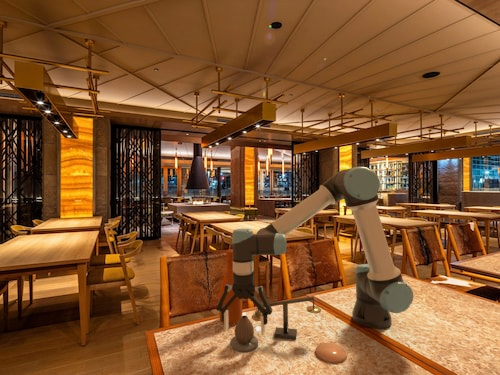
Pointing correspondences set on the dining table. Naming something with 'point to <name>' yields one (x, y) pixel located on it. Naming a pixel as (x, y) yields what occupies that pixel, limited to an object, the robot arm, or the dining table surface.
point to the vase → (244, 330)
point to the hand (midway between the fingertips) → (244, 331)
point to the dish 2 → (331, 352)
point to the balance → (285, 331)
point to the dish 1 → (244, 345)
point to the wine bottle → (230, 293)
